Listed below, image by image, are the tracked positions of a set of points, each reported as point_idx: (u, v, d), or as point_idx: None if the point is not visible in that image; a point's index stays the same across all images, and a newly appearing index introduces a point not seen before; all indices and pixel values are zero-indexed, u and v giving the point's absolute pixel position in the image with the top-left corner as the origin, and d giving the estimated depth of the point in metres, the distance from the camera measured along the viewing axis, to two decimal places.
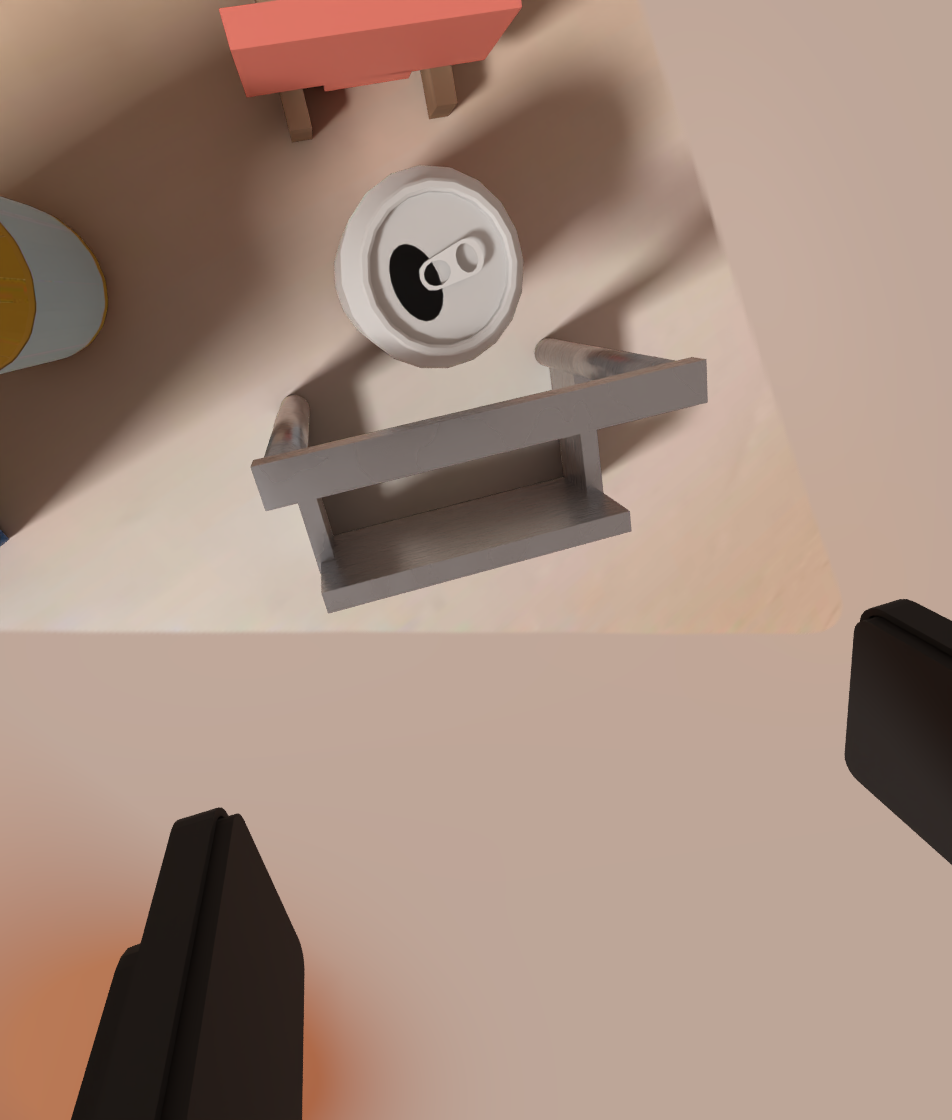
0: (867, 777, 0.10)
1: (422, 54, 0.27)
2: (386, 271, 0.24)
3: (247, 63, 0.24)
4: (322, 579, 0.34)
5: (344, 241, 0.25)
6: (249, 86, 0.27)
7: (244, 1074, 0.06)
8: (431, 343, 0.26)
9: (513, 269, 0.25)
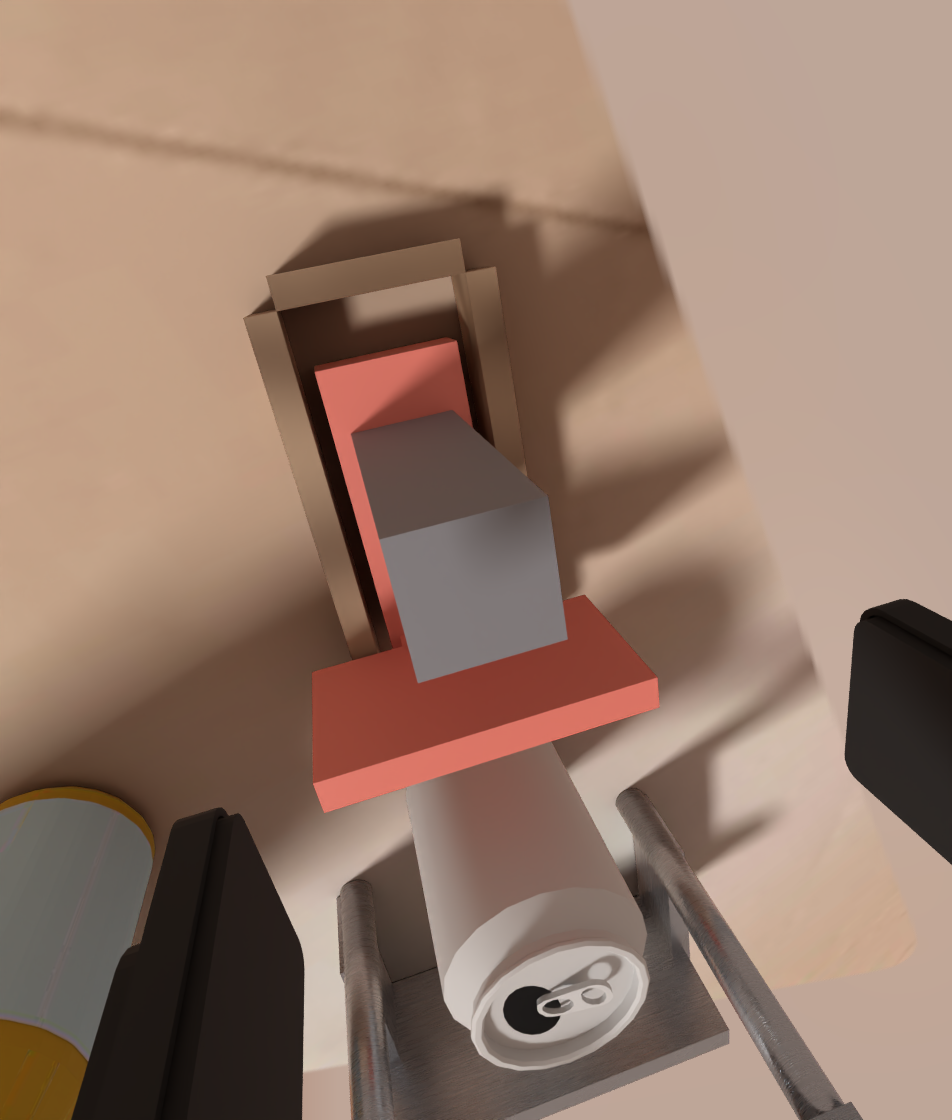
0: (867, 777, 0.10)
1: None
2: (500, 1011, 0.21)
3: None
4: None
5: (449, 970, 0.21)
6: None
7: (244, 1075, 0.06)
8: (544, 1047, 0.22)
9: (643, 987, 0.22)
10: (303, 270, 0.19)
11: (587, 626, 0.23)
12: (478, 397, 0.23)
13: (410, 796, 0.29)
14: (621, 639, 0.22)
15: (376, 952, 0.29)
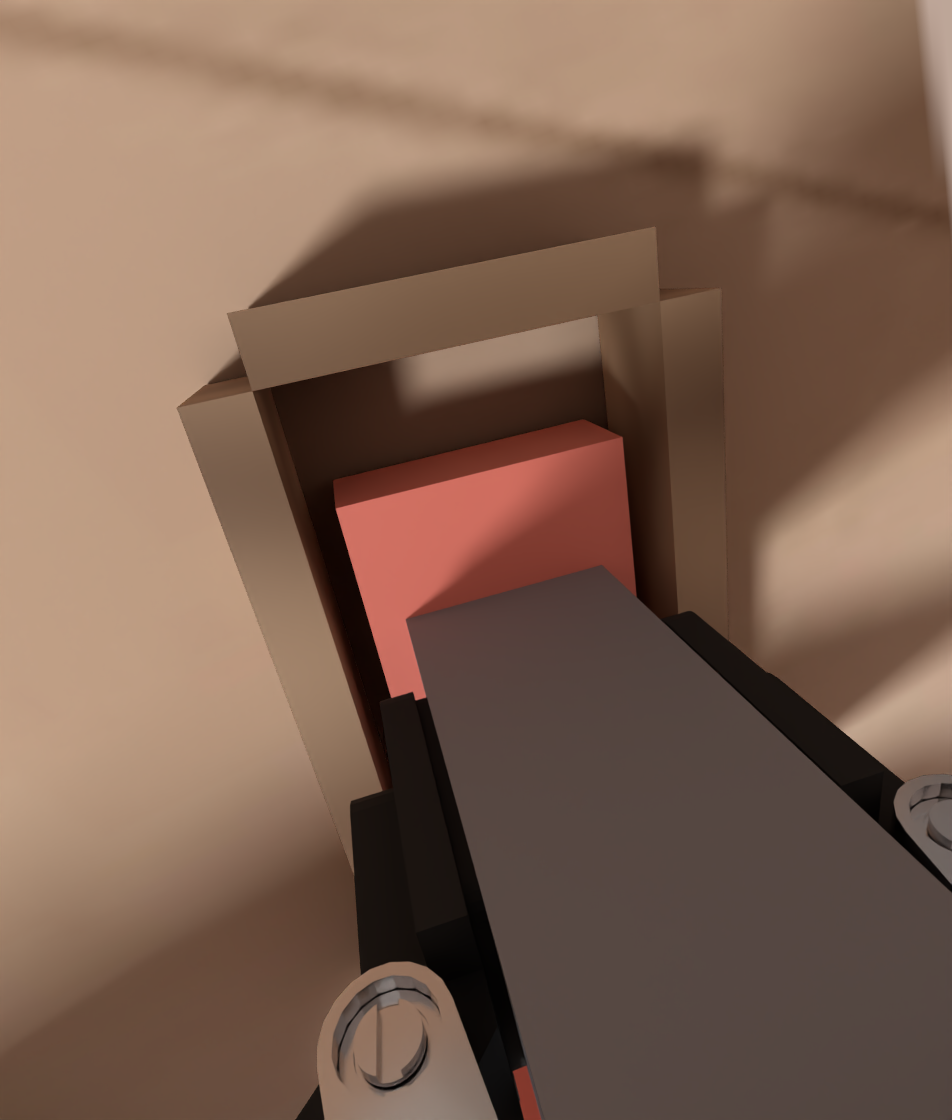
0: None
1: None
2: None
3: None
4: None
5: None
6: None
7: None
8: None
9: None
10: (313, 300, 0.08)
11: None
12: (638, 529, 0.12)
13: None
14: None
15: None
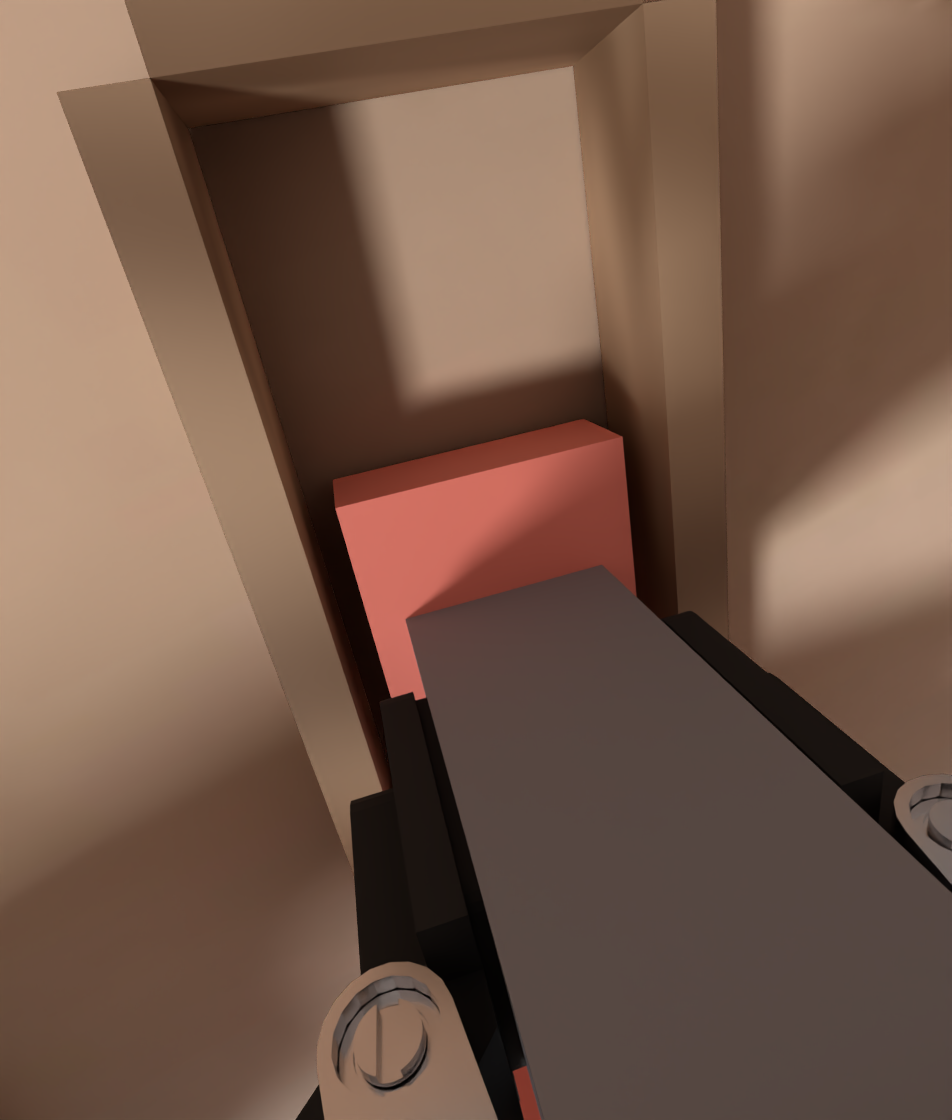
0: None
1: None
2: None
3: None
4: None
5: None
6: None
7: None
8: None
9: None
10: None
11: None
12: (622, 343, 0.11)
13: None
14: None
15: None
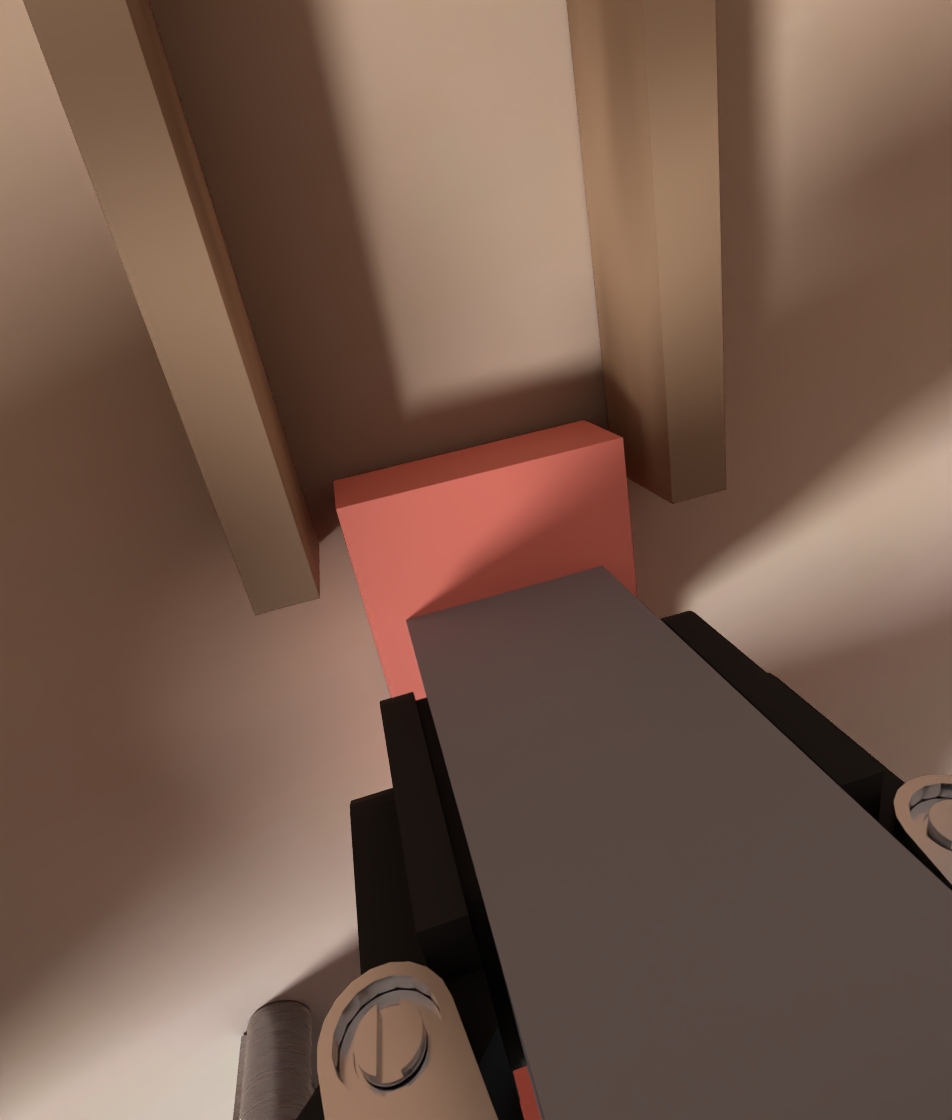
0: None
1: None
2: None
3: None
4: None
5: None
6: None
7: None
8: None
9: None
10: None
11: None
12: None
13: None
14: None
15: None
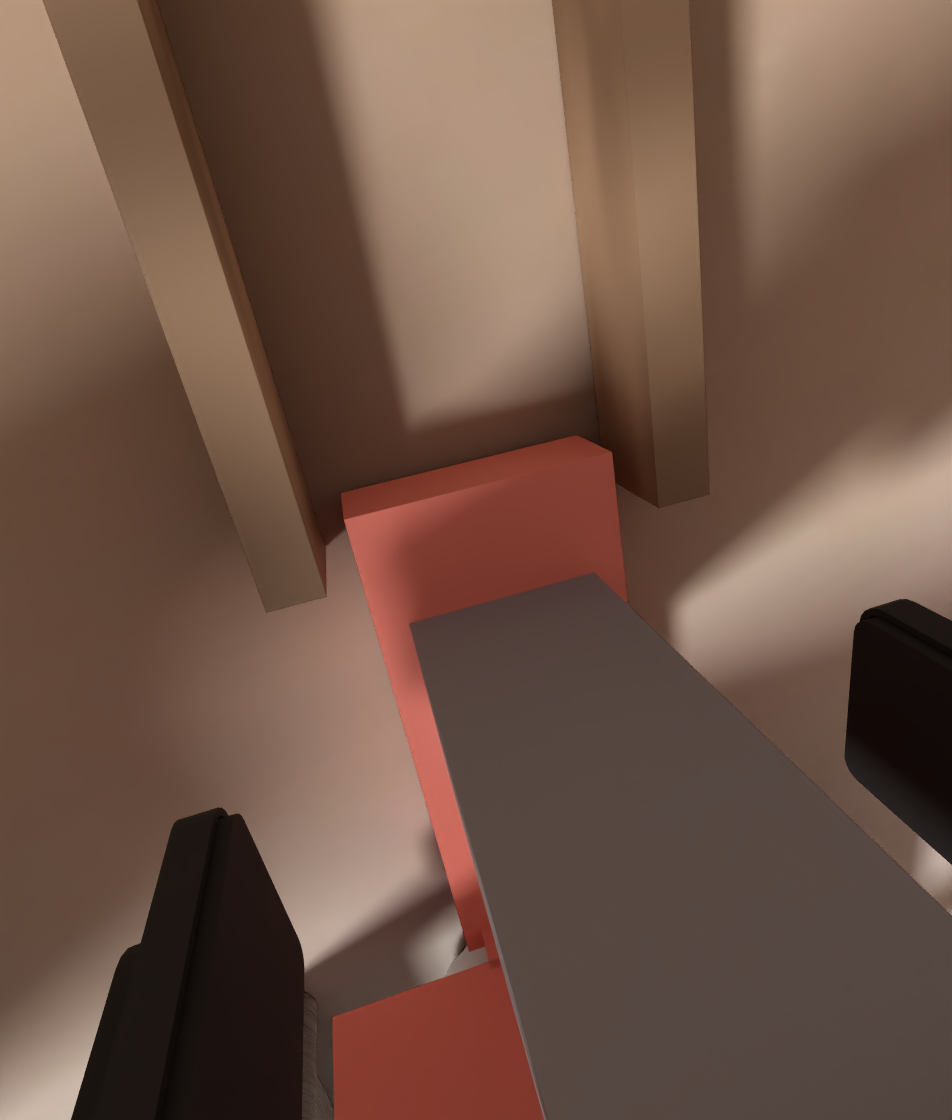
0: (867, 777, 0.10)
1: None
2: None
3: None
4: None
5: None
6: None
7: (244, 1074, 0.06)
8: None
9: None
10: None
11: None
12: None
13: None
14: None
15: None
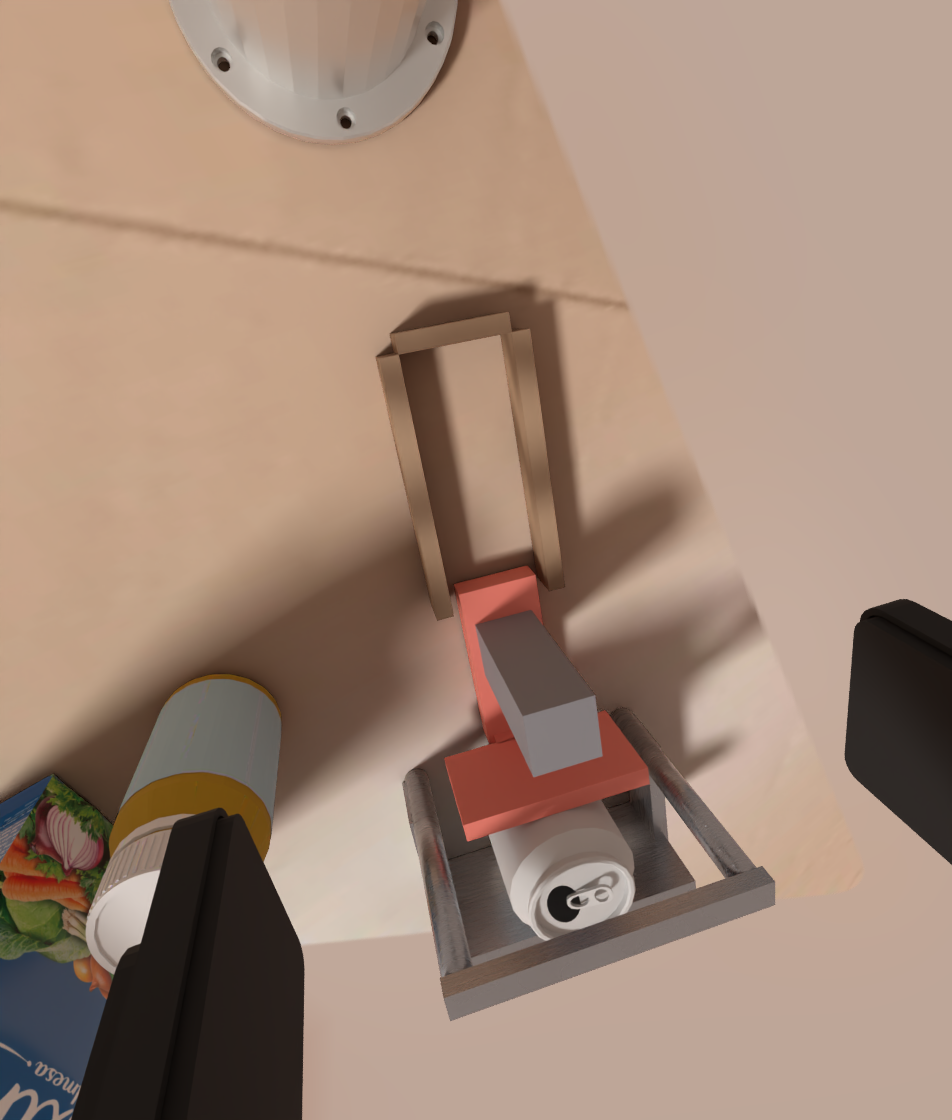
0: (867, 777, 0.10)
1: None
2: (545, 901, 0.35)
3: None
4: None
5: (516, 874, 0.35)
6: None
7: (244, 1074, 0.06)
8: None
9: (631, 895, 0.36)
10: (416, 330, 0.32)
11: (608, 733, 0.40)
12: (516, 410, 0.36)
13: None
14: (628, 742, 0.39)
15: (435, 810, 0.41)
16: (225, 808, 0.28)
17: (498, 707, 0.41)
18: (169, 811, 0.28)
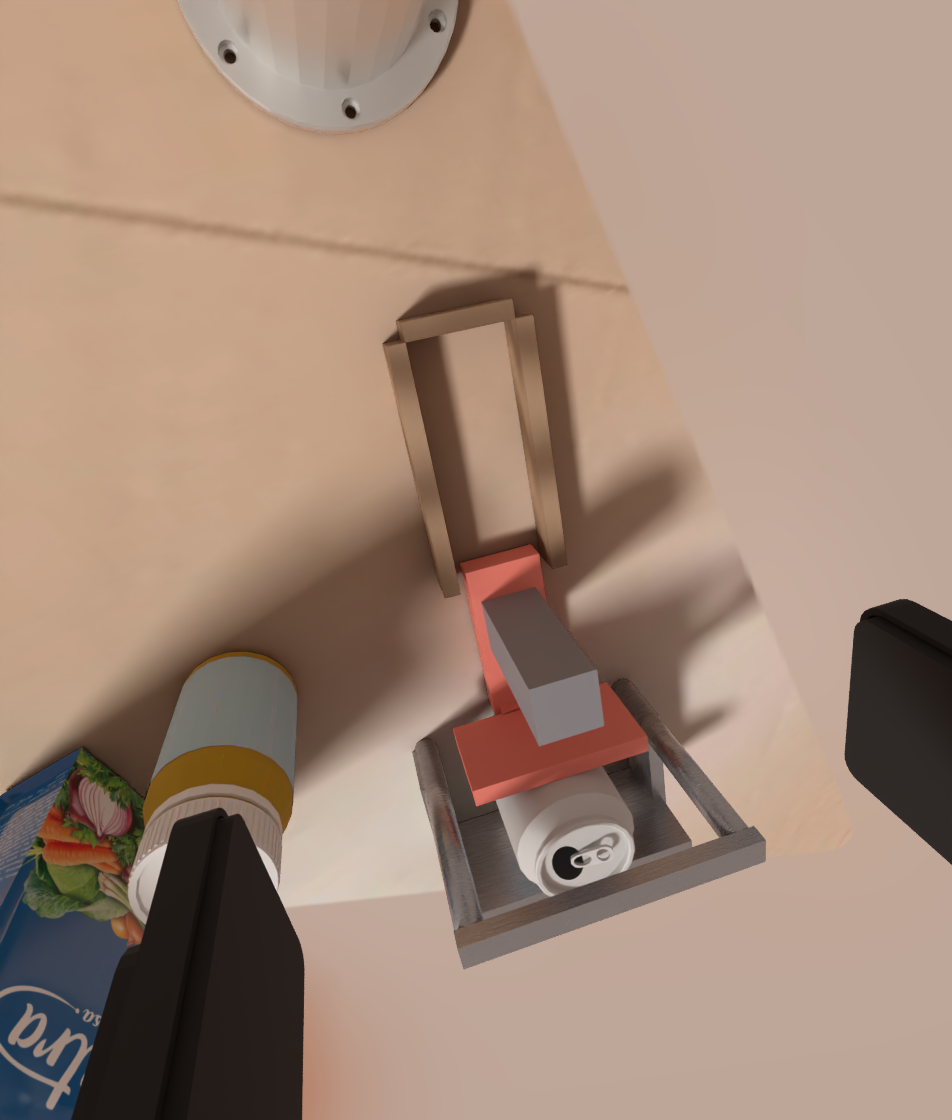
0: (867, 777, 0.10)
1: None
2: (550, 860, 0.37)
3: None
4: None
5: (523, 836, 0.37)
6: None
7: (244, 1074, 0.06)
8: None
9: (631, 854, 0.38)
10: (422, 319, 0.33)
11: (608, 703, 0.42)
12: (519, 394, 0.37)
13: None
14: (628, 712, 0.41)
15: None
16: (251, 778, 0.30)
17: (504, 680, 0.43)
18: (198, 781, 0.29)
